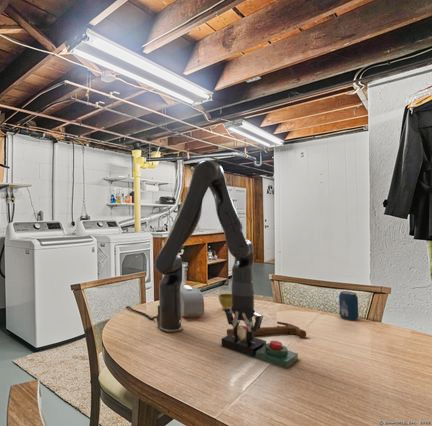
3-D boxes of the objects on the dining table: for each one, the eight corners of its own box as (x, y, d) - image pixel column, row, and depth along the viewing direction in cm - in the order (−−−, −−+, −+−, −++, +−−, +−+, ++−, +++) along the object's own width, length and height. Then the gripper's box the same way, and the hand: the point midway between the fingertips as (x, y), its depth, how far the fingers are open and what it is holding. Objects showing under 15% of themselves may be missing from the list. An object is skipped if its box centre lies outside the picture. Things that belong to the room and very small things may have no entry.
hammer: (234, 341, 117) (306, 337, 120) (233, 333, 118) (306, 329, 120) (220, 330, 129) (287, 327, 132) (220, 323, 129) (286, 320, 132)
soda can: (357, 317, 142) (356, 291, 142) (359, 322, 136) (358, 295, 136) (338, 315, 146) (338, 290, 146) (340, 319, 140) (339, 293, 140)
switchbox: (255, 357, 104) (255, 346, 104) (267, 350, 110) (267, 339, 110) (287, 368, 96) (286, 356, 96) (297, 359, 102) (297, 347, 102)
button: (268, 347, 103) (268, 342, 103) (273, 344, 106) (272, 339, 106) (279, 351, 101) (279, 345, 101) (284, 348, 103) (283, 342, 103)
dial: (234, 339, 112) (234, 326, 112) (240, 336, 115) (240, 323, 115) (246, 343, 109) (246, 329, 109) (252, 339, 112) (252, 326, 112)
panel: (221, 346, 114) (221, 338, 114) (235, 339, 120) (235, 331, 120) (253, 357, 104) (253, 348, 104) (266, 349, 111) (266, 340, 111)
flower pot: (214, 307, 161) (214, 294, 161) (231, 306, 164) (231, 292, 164) (226, 313, 151) (225, 299, 151) (243, 311, 154) (243, 297, 154)
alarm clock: (204, 320, 142) (204, 291, 142) (184, 320, 142) (183, 292, 142) (193, 307, 163) (193, 282, 163) (175, 307, 163) (175, 282, 163)
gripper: (219, 291, 115) (220, 336, 115) (257, 298, 104) (258, 348, 104) (229, 287, 120) (230, 331, 120) (266, 294, 109) (268, 342, 109)
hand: (243, 338), depth 112 cm, fingers closed on dial, 4 cm apart
